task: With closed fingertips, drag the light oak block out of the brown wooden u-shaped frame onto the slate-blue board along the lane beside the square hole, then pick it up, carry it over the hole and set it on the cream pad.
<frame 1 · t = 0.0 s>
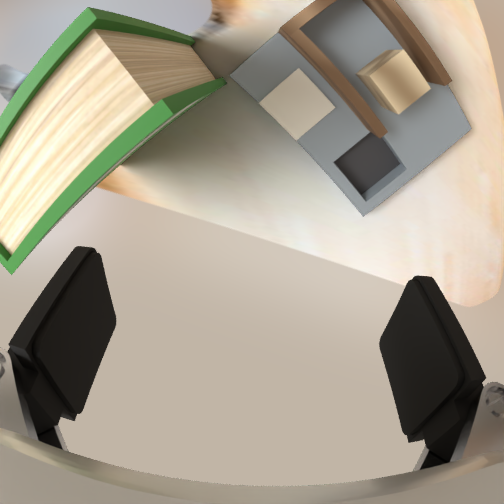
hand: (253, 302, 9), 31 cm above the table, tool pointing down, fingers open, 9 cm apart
brown wooden u-shaped frame: (358, 55, 30), resting on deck
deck: (362, 94, 33), on the table
block: (384, 78, 29), point 2 cm above the table, touching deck
hardback book: (151, 102, 34), on the table
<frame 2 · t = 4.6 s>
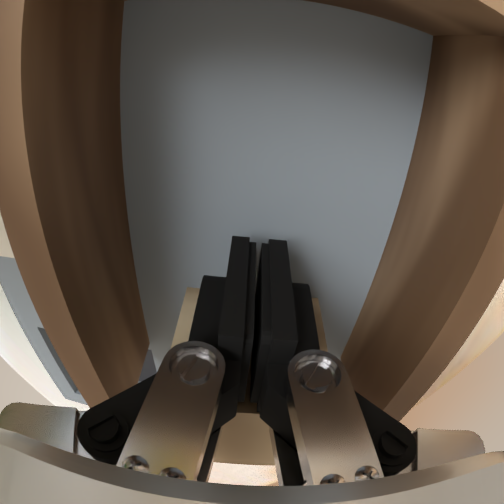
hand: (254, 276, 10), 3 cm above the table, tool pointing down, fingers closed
brown wooden u-shaped frame: (261, 187, 12), resting on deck
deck: (186, 264, 14), on the table
block: (247, 336, 13), point 2 cm above the table, touching gripper
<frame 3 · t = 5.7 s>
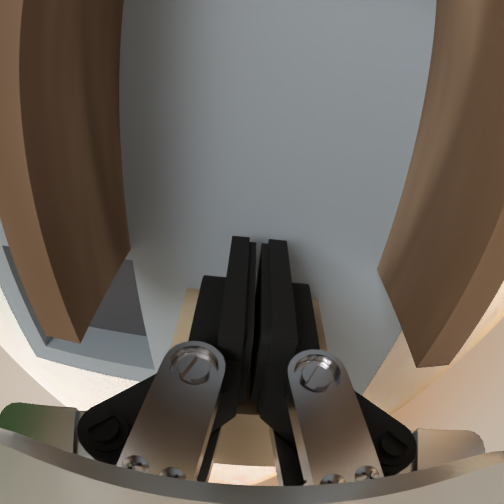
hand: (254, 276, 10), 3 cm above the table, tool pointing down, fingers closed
brown wooden u-shaped frame: (275, 49, 9), resting on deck
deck: (183, 149, 11), on the table
block: (247, 337, 13), point 2 cm above the table, touching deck, gripper
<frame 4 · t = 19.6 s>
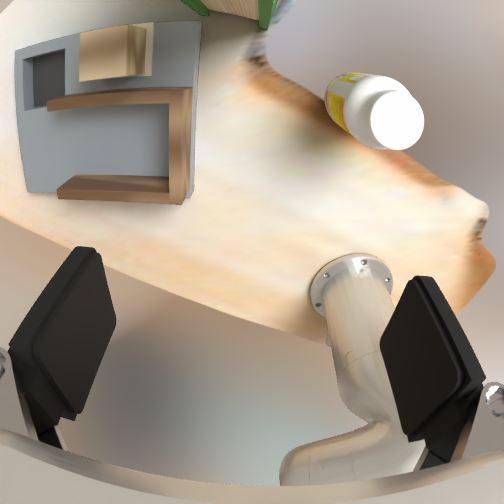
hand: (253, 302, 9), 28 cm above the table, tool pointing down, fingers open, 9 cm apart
supplement bottle: (352, 99, 31), on the table
brown wooden u-shaped frame: (129, 133, 33), resting on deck
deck: (99, 110, 32), on the table
block: (123, 52, 26), point 3 cm above the table, touching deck
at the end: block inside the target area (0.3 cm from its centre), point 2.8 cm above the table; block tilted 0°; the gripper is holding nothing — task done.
